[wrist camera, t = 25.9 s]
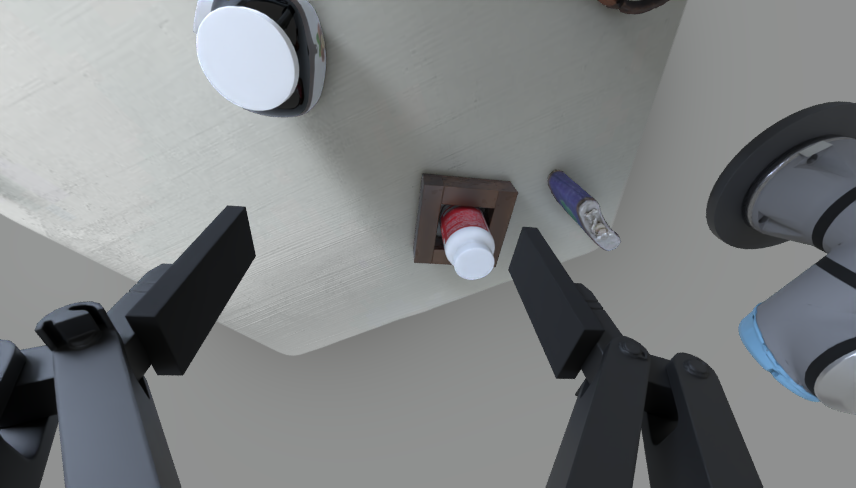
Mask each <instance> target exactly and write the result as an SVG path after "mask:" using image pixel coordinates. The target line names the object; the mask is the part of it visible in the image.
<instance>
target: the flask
mask: <svg viewBox="0 0 856 488" xmlns="http://www.w3.org/2000/svg"><path fill="white" fill-rule="evenodd" d="M547 182H548V185H549V188H550V189H551V193H552V194H553V196H554V198H555V199H556V200H557V202H559V203H560V205H561V206H562V207H563V208H564V209H565V210H566V212H567V213H568V214H569V215H570V216H571V217H572V218H573V219H574V220H575V221H576V222H577V223H578V224H579V226H580V227H581V228H582V229H583V230H584V231H585V233H586V234H587V235H588V236H589V237H590V238H591V239H592V240H593V241H594V242H595V243H596V244H597V245H598V246H600V247H601V248H602V249H604V250H606V251H610V250H613V249H616V247H618V246H619V244H620V242H621V240H620V237H619V236H618V234H617V233H616V232H614V231H613V230H612V229H611V228H610V226H608V224H607V222H606V221H605V219H604V218H603V216H602V213H601V210H600V206H599V204H598V202H597V201H596V200H595V199H594V198H593V197H591V196H590V195H589V194H588V193H587V192H586V191H584V190H583V189H582V188H581V187H580V186H579V185H578V184H576V183H575V182H574V181H573V180H571V179H570V178H569V177H568V176H567V175H566V174H565V173H564V172H563V171H560V170H555V171H554V172H552V173H551V174H550V175H549V176H548V181H547Z"/></svg>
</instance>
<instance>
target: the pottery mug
mask: <svg viewBox="0 0 856 488" xmlns="http://www.w3.org/2000/svg"><path fill="white" fill-rule="evenodd" d="M598 1H599V2H600V3H602V4H603V5H606V7H608V8H613V9H619V10H620V12H622V13H626V14H640V13H645V12H647V11H650V10H652V9H653V8H657V7H659V6H661V5H663V4H665V3H666V2H667V1H669V0H640V1H629V0H598Z"/></svg>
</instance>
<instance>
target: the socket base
mask: <svg viewBox="0 0 856 488" xmlns="http://www.w3.org/2000/svg"><path fill="white" fill-rule="evenodd" d="M517 195H518V192H517V190H516V189H515V187H514V186H513V185H512V183H511V182H510V181H499V180H487V179H476V178H465V177H454V176H443V175H433V174H422V181H421V189H420V197H419V206H418V214H417V222H416V230H415V238H414V247H413V252H414V263H430V264H431V263H432V264H449V265H452V264H451V263H450V262H449V260H448V259H447V257H446V254H445V249H444V244H443V239H442V237H439V236H436V233H437V227H438V221H439V215H440V209H441V204H445V205H458V206H470V207H483V208H486V209H485V213H484V218H485V221H486V223H487V225H488V228H489V230H490V232H491V235H492V237H493V240H494V244H495V250H494V253H493V257H494V267H496V264H497V261H498V257H499V254H500V251H501V247H502V244H503V241H504V238H505V234H506V231H507V228H508V224H509V221H510V218H511V215H512V211H513V208H514V205H515V201H516V198H517Z"/></svg>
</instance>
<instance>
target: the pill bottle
mask: <svg viewBox="0 0 856 488" xmlns="http://www.w3.org/2000/svg"><path fill="white" fill-rule="evenodd" d="M439 222H440V228H441V234H442V239H443V244H444V249H445V254H446V257H447V259H448V260H449V262H450V263H451V264H452V265H454V268H455V271H456V272H457V274H458V275H459V276H461V277H462V278H465V279H470V280H474V279H479V278H482V277H484V276H486V275H487V274H488V273H490V271H491V270H492V269H493V267H494V257H493V253H494V250H495V244H494V240H493V237H492V235H491V232H490V230H489V228H488V225H487V223H486V221H485V218H484V216H483V213H482V211H481V209H480V208H479V207H470V206H458V205H446V206H445V207H444V208H443V210H442V211H441V213H440V217H439Z"/></svg>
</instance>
